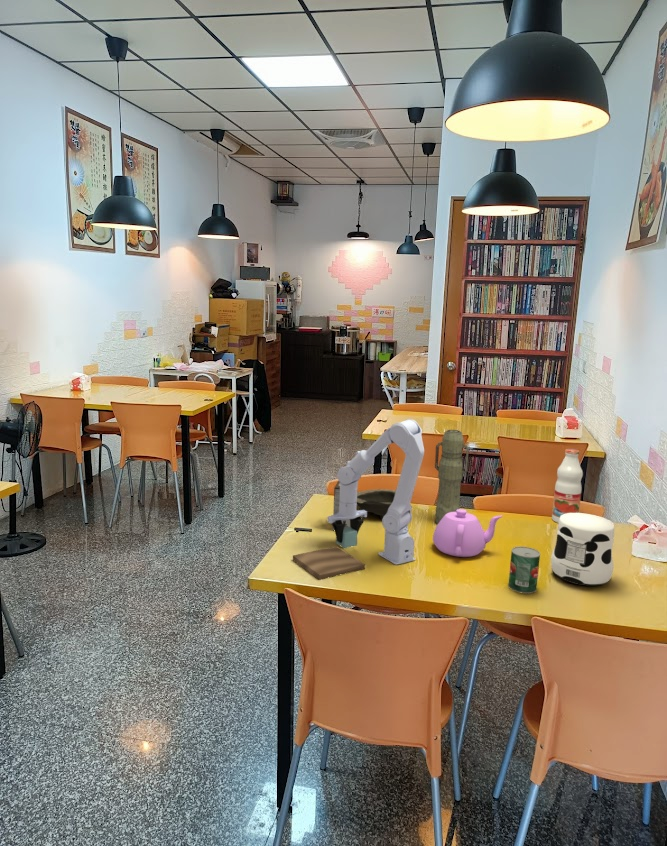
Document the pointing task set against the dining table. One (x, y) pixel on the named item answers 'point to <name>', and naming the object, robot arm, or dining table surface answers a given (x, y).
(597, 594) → the dining table surface
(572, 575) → the milk container
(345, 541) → the teal cube
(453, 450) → the thermos
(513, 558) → the canned tomato
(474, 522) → the teapot
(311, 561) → the walnut board
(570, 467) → the fruit juice
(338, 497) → the coffee box
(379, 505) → the stone bowl
